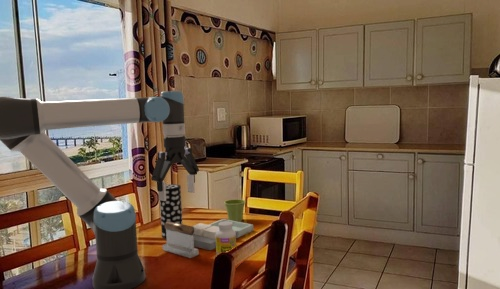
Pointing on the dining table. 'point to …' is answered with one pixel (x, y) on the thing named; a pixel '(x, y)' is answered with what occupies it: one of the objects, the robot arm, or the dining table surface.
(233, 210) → the plant pot
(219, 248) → the supplement bottle
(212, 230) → the tile right
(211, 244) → the board
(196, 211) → the dining table surface
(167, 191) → the spotted tube
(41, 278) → the dining table surface
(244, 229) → the tray
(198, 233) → the tile left
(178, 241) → the scraper
